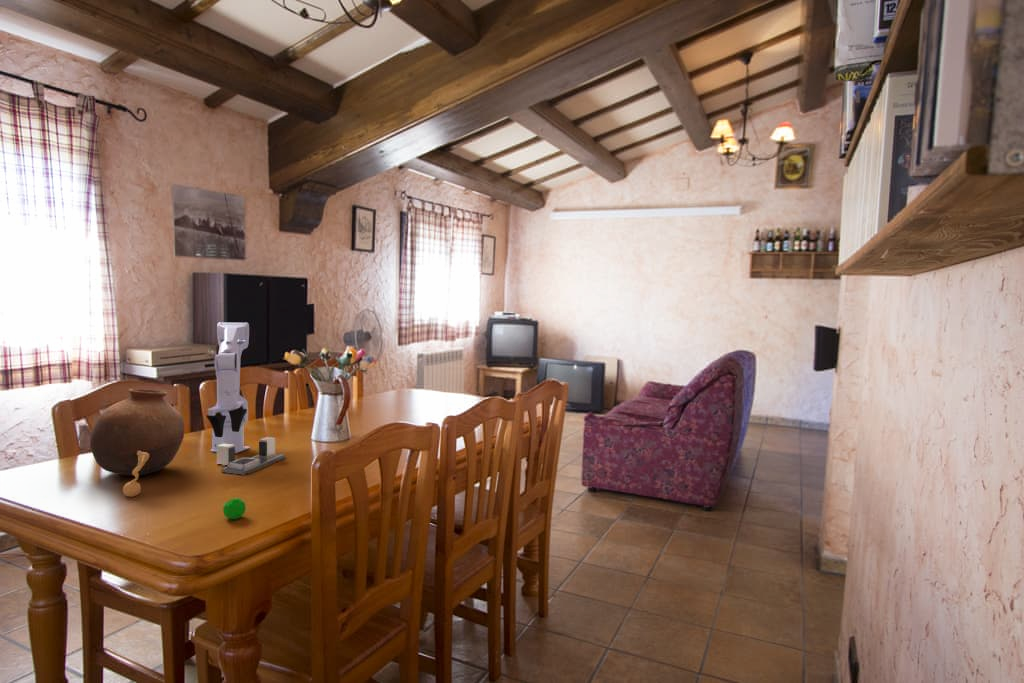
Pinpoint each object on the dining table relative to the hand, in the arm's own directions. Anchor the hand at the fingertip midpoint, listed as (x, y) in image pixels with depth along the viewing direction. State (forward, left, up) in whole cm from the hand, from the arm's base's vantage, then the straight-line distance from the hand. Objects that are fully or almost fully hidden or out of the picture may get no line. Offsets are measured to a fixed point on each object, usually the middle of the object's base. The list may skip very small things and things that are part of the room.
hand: (227, 434), depth 187 cm
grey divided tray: (+9, +2, -9) cm, 13 cm away
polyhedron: (+33, -37, -10) cm, 51 cm away
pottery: (-16, -16, -10) cm, 25 cm away
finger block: (0, 0, -10) cm, 10 cm away
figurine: (-1, -32, -10) cm, 34 cm away
